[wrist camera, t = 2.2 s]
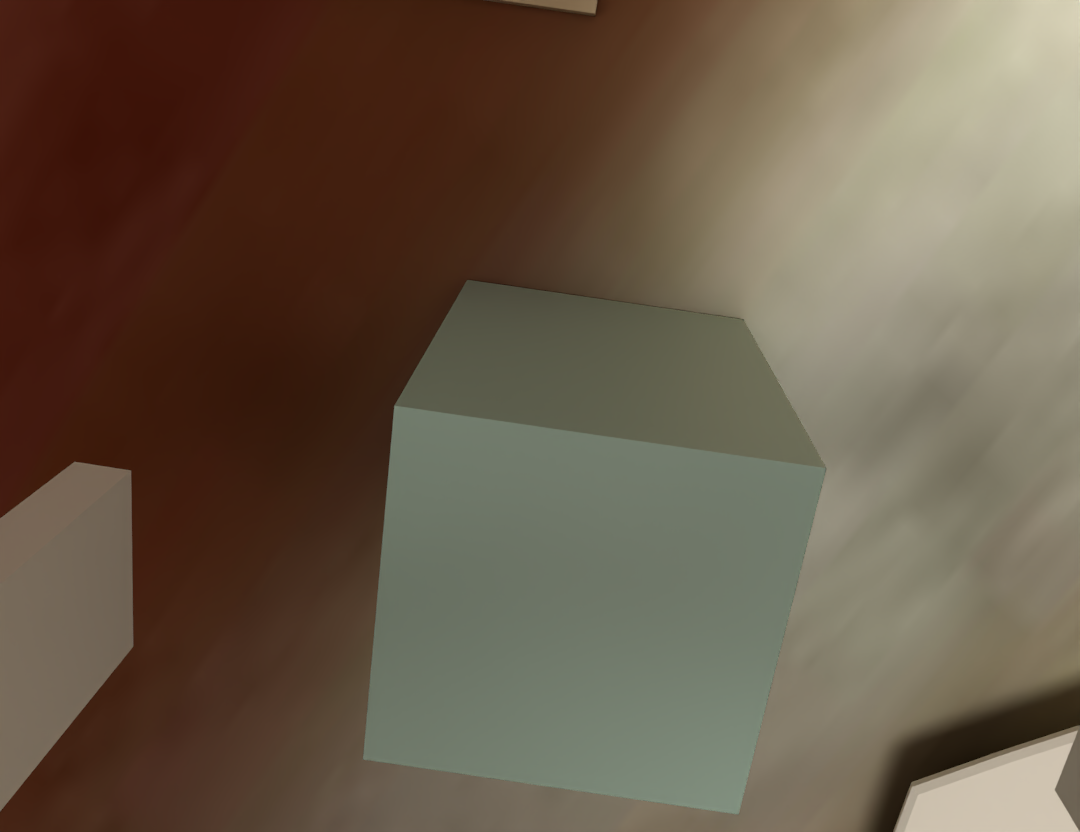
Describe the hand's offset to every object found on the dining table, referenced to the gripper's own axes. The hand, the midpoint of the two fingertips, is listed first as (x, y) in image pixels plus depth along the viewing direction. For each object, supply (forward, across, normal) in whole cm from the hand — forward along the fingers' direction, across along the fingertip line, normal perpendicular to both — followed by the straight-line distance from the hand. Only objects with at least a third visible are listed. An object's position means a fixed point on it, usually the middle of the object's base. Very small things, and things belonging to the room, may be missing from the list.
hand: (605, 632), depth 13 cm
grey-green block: (+8, 0, 0) cm, 8 cm away
